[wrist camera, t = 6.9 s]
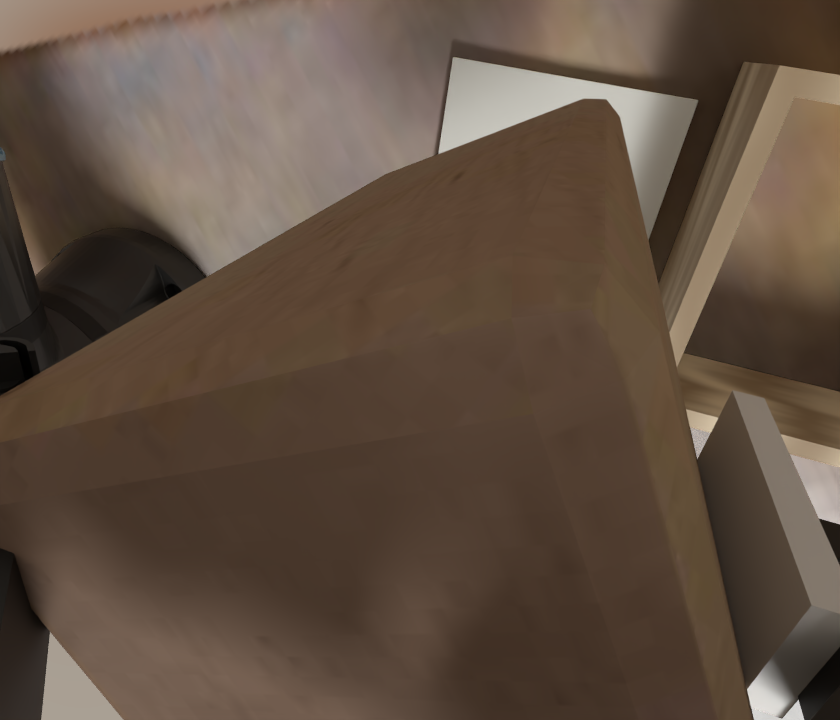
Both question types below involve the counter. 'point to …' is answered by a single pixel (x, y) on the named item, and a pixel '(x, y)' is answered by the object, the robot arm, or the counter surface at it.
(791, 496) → the robot arm
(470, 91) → the grey mat
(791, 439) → the birch frame
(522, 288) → the wooden block
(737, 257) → the counter surface
